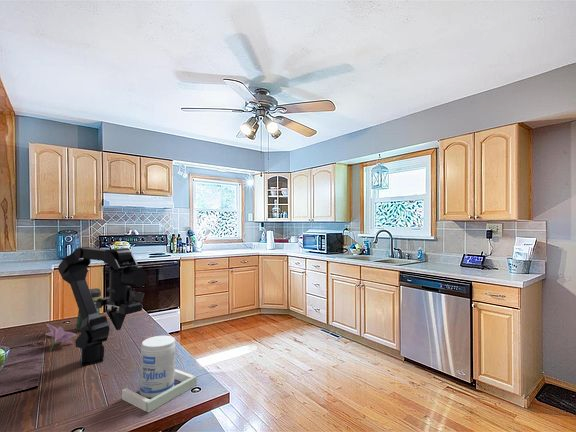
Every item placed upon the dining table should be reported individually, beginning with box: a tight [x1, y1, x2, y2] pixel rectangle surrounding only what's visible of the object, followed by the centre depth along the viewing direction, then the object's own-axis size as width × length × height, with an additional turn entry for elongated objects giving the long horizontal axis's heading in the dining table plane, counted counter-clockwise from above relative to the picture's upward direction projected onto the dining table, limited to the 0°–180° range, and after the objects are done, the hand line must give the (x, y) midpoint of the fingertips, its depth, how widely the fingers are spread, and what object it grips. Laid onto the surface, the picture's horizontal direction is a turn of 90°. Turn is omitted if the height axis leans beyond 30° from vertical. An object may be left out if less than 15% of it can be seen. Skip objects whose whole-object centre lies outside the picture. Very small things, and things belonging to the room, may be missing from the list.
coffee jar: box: [75, 288, 102, 331], centre depth 146 cm, size 10×8×19 cm
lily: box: [45, 323, 78, 352], centre depth 124 cm, size 12×12×10 cm
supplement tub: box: [139, 335, 176, 399], centre depth 92 cm, size 10×10×15 cm
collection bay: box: [121, 368, 198, 413], centre depth 91 cm, size 12×16×2 cm
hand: (118, 329), depth 106 cm, fingers closed
